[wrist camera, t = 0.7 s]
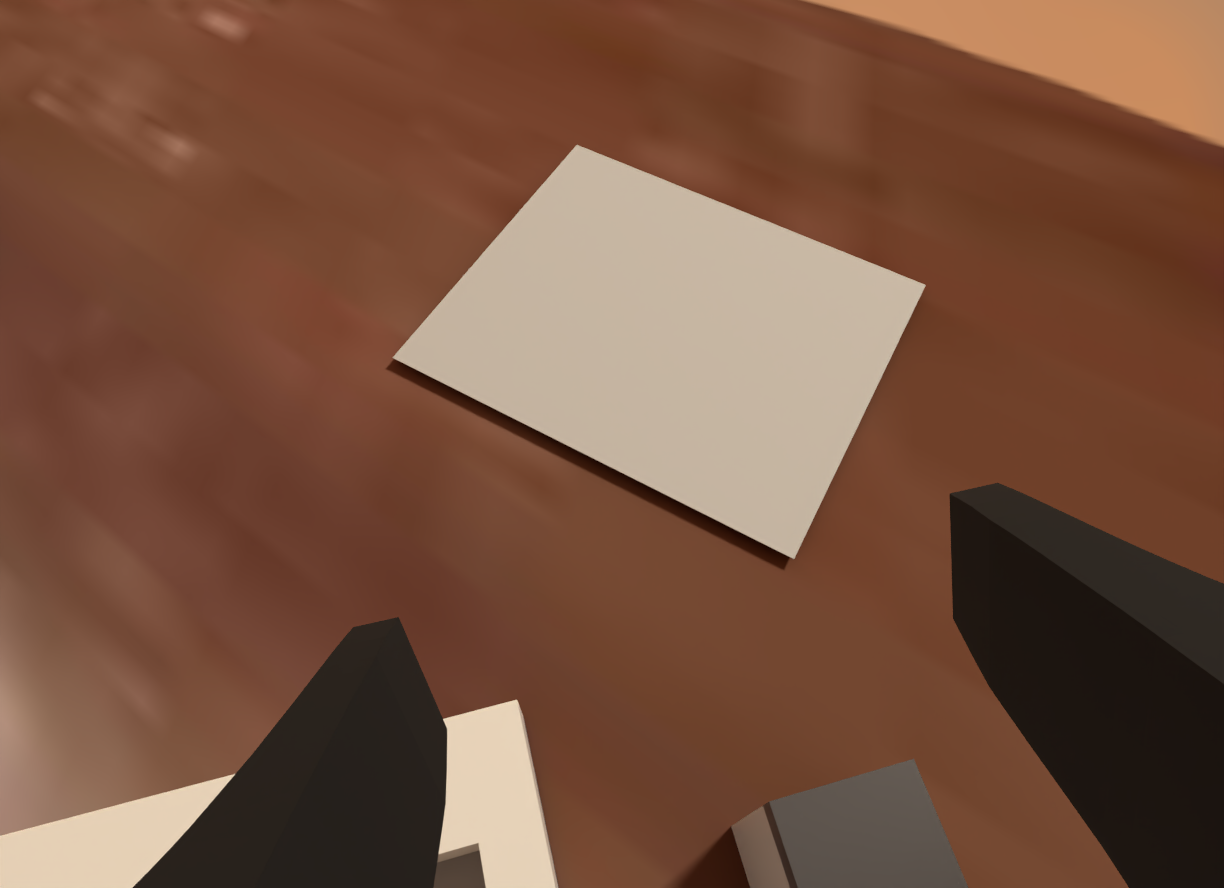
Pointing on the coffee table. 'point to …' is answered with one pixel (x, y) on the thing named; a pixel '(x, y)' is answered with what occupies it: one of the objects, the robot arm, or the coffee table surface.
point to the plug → (850, 836)
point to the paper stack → (673, 342)
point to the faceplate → (147, 828)
